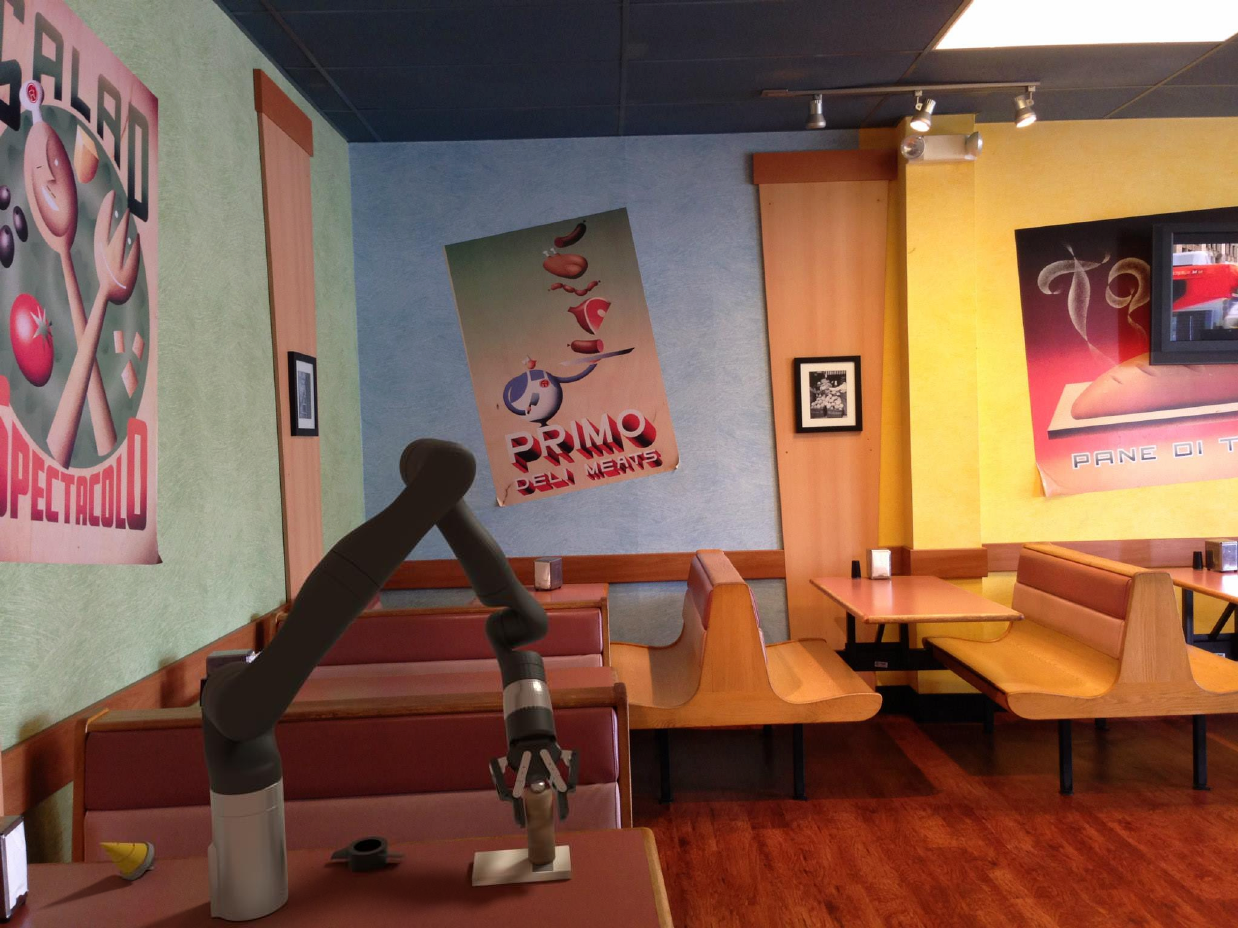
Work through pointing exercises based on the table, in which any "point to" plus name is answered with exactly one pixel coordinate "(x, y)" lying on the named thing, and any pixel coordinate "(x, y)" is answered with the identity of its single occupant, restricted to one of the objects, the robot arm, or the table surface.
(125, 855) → the yellow party hat
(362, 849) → the black winged cup
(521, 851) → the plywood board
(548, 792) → the wooden pepper mill
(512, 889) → the table surface
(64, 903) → the table surface
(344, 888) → the table surface
